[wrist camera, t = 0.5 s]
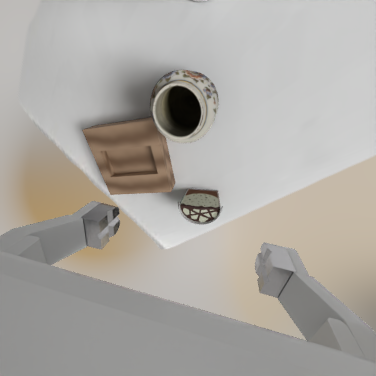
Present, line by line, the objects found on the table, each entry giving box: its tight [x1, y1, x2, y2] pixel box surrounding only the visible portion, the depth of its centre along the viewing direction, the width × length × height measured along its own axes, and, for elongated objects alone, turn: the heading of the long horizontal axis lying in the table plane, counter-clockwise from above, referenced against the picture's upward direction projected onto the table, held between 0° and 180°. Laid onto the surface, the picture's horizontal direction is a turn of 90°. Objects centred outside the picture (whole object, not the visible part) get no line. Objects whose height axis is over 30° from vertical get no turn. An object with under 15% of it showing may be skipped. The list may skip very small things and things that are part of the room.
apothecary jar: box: [150, 70, 218, 143], centre depth 35 cm, size 12×12×18 cm
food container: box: [178, 188, 223, 224], centre depth 52 cm, size 12×6×10 cm, turn 91°
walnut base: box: [82, 117, 175, 195], centre depth 50 cm, size 20×20×6 cm
